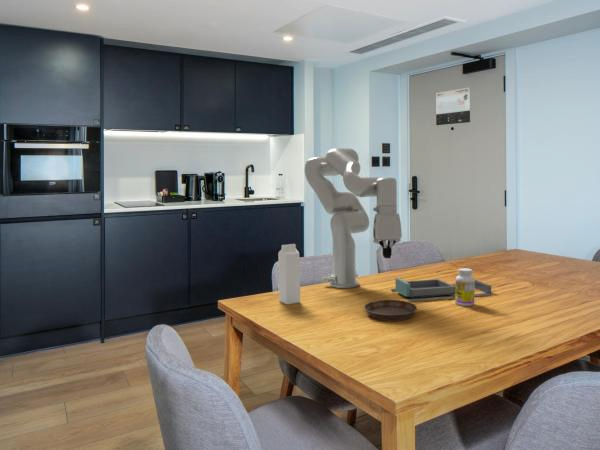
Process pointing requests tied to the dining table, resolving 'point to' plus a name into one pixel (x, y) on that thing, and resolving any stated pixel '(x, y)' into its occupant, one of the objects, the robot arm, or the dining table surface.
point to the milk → (289, 274)
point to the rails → (478, 285)
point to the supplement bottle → (465, 287)
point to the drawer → (424, 288)
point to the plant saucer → (390, 310)
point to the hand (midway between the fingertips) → (387, 257)
